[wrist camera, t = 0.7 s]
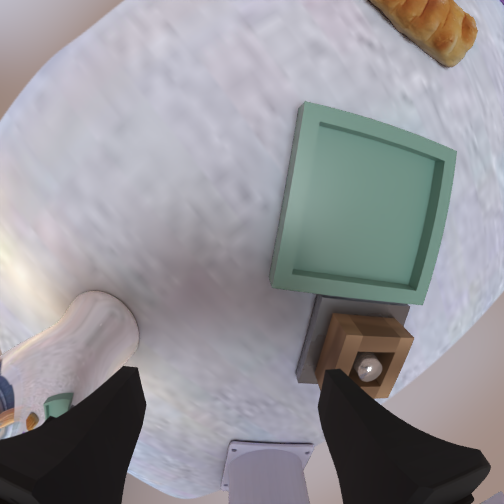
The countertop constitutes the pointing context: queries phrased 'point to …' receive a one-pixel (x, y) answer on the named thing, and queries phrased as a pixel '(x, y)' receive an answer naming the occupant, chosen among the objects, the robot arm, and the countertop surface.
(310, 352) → the grey peg base
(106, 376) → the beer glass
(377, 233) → the tray
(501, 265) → the countertop surface
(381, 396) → the collar
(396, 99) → the countertop surface
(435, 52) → the pastry
